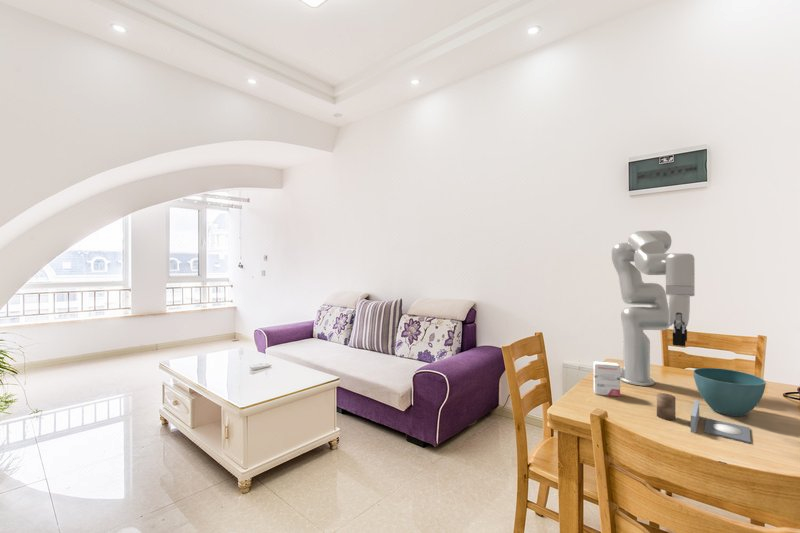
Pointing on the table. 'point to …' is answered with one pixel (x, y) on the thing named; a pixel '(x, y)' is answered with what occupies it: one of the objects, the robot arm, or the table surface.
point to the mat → (727, 430)
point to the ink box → (606, 378)
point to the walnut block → (666, 406)
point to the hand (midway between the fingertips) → (680, 343)
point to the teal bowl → (729, 390)
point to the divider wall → (695, 416)
